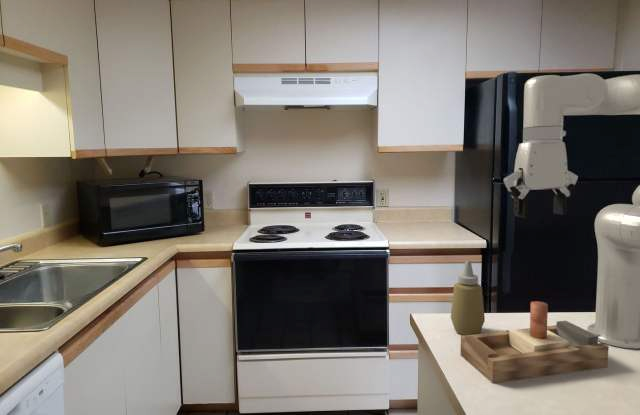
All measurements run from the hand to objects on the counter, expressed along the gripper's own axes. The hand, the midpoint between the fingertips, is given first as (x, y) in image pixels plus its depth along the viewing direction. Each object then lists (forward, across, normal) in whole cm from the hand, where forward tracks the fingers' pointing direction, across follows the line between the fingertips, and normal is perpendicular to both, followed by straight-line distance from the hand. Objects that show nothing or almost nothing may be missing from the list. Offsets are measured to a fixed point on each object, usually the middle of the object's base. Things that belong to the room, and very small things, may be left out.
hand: (540, 215), depth 93 cm
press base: (+30, +5, +5) cm, 31 cm away
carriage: (+28, +4, +5) cm, 29 cm away
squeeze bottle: (+31, +10, -12) cm, 34 cm away
